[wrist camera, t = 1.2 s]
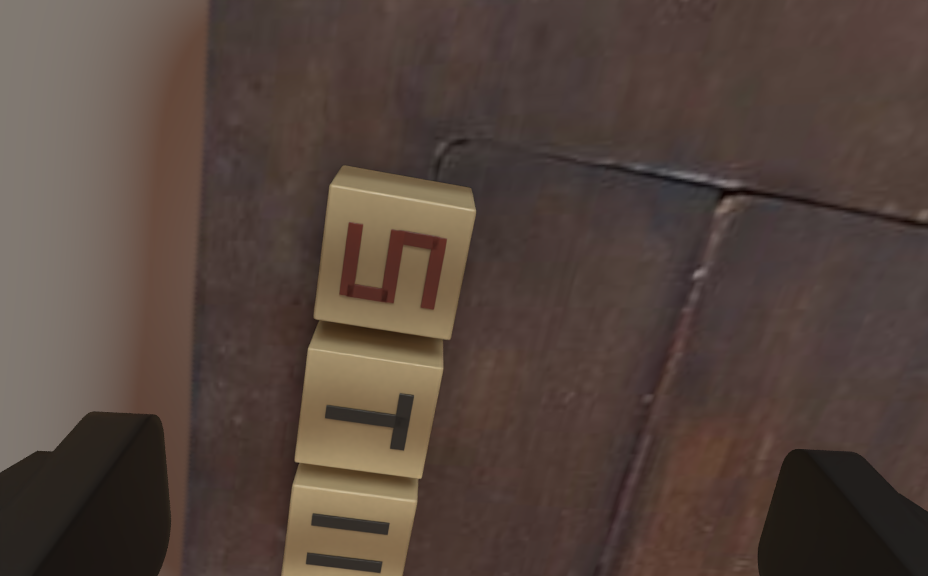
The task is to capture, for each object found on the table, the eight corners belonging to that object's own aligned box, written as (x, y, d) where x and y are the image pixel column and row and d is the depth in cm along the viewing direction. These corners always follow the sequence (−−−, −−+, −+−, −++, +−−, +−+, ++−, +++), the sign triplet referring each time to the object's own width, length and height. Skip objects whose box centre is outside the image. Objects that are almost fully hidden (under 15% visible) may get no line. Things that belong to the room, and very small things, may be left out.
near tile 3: (306, 437, 27) (291, 486, 24) (419, 452, 28) (417, 502, 25) (295, 528, 29) (279, 584, 26) (402, 541, 29) (398, 598, 26)
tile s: (342, 164, 23) (329, 184, 21) (472, 187, 24) (477, 210, 21) (326, 286, 25) (312, 321, 22) (449, 306, 25) (450, 342, 23)
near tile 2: (322, 311, 25) (307, 349, 22) (442, 330, 26) (443, 370, 23) (308, 416, 27) (293, 464, 24) (423, 432, 27) (421, 481, 24)
